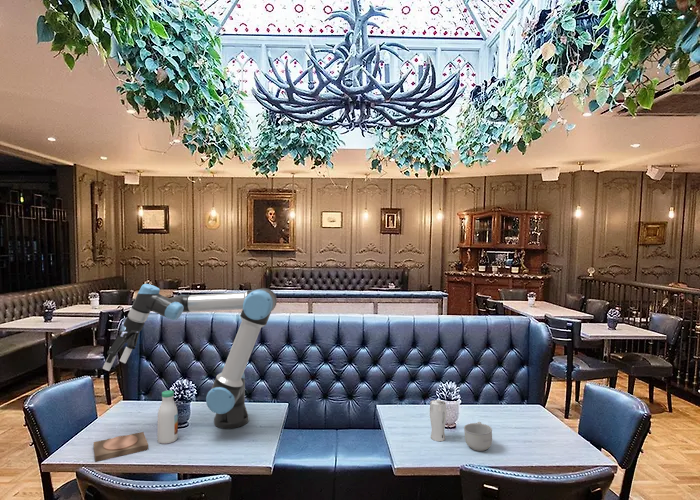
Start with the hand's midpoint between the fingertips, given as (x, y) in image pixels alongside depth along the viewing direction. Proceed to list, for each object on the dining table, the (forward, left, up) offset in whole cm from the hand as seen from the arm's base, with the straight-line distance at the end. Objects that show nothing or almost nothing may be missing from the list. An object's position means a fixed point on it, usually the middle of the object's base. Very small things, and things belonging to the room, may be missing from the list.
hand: (114, 365), depth 180 cm
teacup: (-123, +89, -30) cm, 155 cm away
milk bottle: (-18, +16, -30) cm, 38 cm away
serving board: (-1, +14, -30) cm, 33 cm away
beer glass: (-114, +75, -30) cm, 140 cm away
